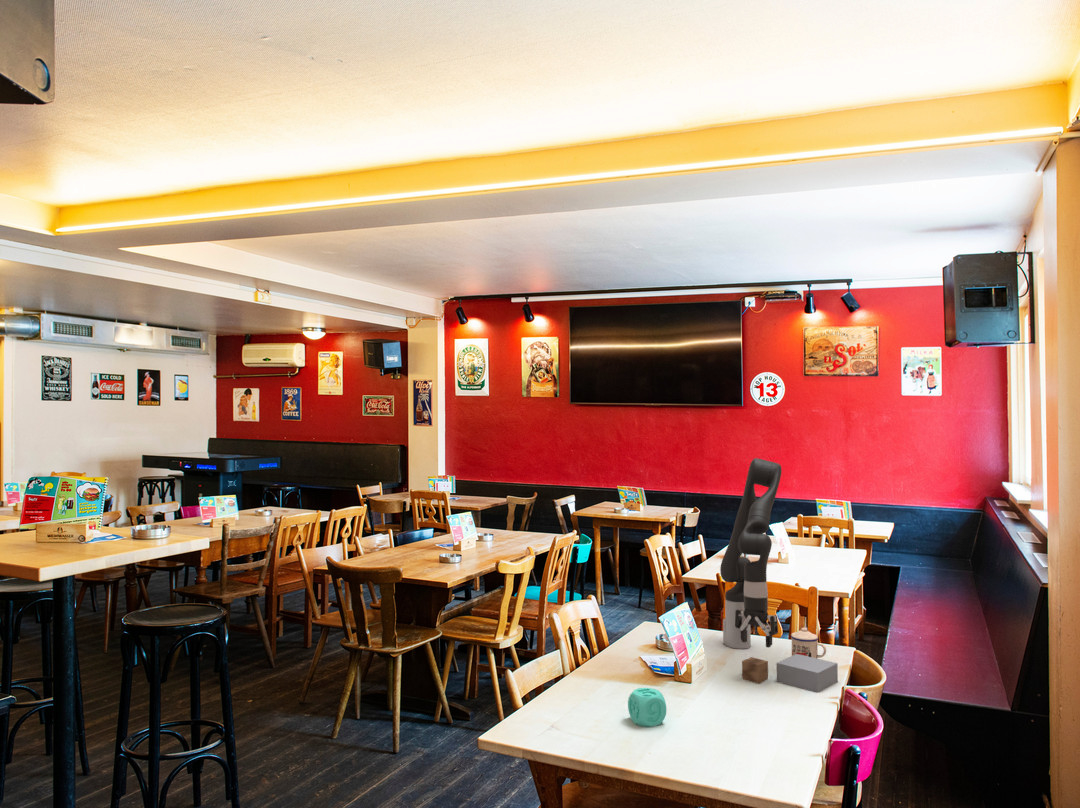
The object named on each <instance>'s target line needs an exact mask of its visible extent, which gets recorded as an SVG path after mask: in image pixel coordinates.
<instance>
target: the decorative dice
mask: <svg viewBox="0 0 1080 808" xmlns="http://www.w3.org/2000/svg"><path fill="white" fill-rule="evenodd" d="M627 708H628V709H627V710H628V714H629V717H630V719H631V720H632V722H633V723H634V724H636V725H637V726H639V727H640V726H641V727H645V728H647V727H649V728H653V727H656V726H660V725H661V724H662V723H663V721H664V720H665V719H666V715H667V703H666V699H665V697H664V695H663V693H662V692H661V691H660V690H659V689H655V688H651V687H639V688H636V689H634V690H633V691H632V692H631V693H630V694H629V697H628V700H627Z"/></svg>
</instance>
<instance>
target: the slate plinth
mask: <svg viewBox="0 0 1080 808" xmlns="http://www.w3.org/2000/svg"><path fill="white" fill-rule="evenodd" d="M775 665H776V667H775V668H776V682H777V683H781V684H785V685H789V686H792V687H796V688H800V689H804V690H807V691H812V692H816V693H820V692H822V691H823V689H824V690H826V689H827V688H829V687H832V686H834V685H835V684H837V683H838V682H839V681H838V679H839V677H838V667H839V665H838V662H832V661H829V660H825V659H821V658H818V659H817V658H812V657H808V656H804V655H799V654H795V655H793V656H792V655H791V656H788V657H786V658H785V659H782V660H780V661H778V662H776V664H775ZM825 688H826V689H825ZM821 690H822V691H821ZM819 691H820V692H819Z"/></svg>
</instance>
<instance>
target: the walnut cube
mask: <svg viewBox="0 0 1080 808" xmlns="http://www.w3.org/2000/svg"><path fill="white" fill-rule="evenodd" d="M741 663H742V664H741V678H742V679H741V680H744V681H748V682H752V683H756V684H762V683H763V682H766V681H767V680H769V661H768V660H764V659H760V658H757V657H754V656H752V657H749V658H746V659H743V660H742V661H741Z"/></svg>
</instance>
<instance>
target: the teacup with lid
mask: <svg viewBox="0 0 1080 808" xmlns="http://www.w3.org/2000/svg"><path fill="white" fill-rule="evenodd" d="M800 629H801V630H798V631H795V632H792V633H791V634H790V638H791V656H793V655H795V654H799V655H804V656H808V657H812V658H817V659H821V658H823V657H825V656H826V653H827V647H826V646H825V644H823V643H821V642H818V640H819V637H818V635H816V634H815V633H812V632H810V631H809V630H808V628H807V627H801V628H800ZM818 646H820V647H822V649H823V653H822V654H821V655H819V654H818Z"/></svg>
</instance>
